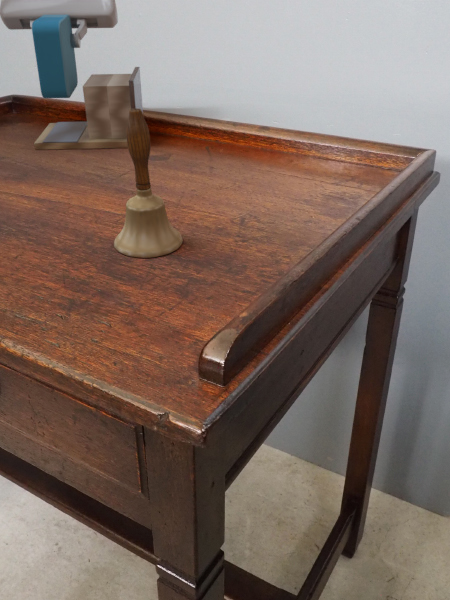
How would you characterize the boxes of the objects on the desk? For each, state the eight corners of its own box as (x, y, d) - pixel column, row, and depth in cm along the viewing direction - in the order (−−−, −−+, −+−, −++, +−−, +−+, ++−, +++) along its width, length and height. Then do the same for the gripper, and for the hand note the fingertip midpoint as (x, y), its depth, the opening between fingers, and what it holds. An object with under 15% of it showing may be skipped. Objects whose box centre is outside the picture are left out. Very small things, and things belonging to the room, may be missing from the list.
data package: (53, 84, 114) (44, 13, 108) (78, 84, 114) (70, 13, 108) (41, 100, 104) (30, 22, 97) (69, 100, 104) (59, 22, 98)
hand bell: (152, 264, 70) (141, 123, 62) (99, 247, 74) (82, 112, 66) (196, 238, 76) (191, 106, 68) (145, 223, 80) (134, 96, 72)
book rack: (35, 149, 107) (23, 83, 102) (50, 129, 118) (41, 67, 113) (138, 147, 108) (133, 81, 102) (144, 127, 119) (139, 66, 113)
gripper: (-4, -34, 108) (-9, 35, 104) (114, -36, 108) (113, 33, 105) (8, -8, 114) (4, 58, 110) (119, -10, 114) (118, 56, 111)
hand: (58, 46), depth 108 cm, fingers closed on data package, 4 cm apart
